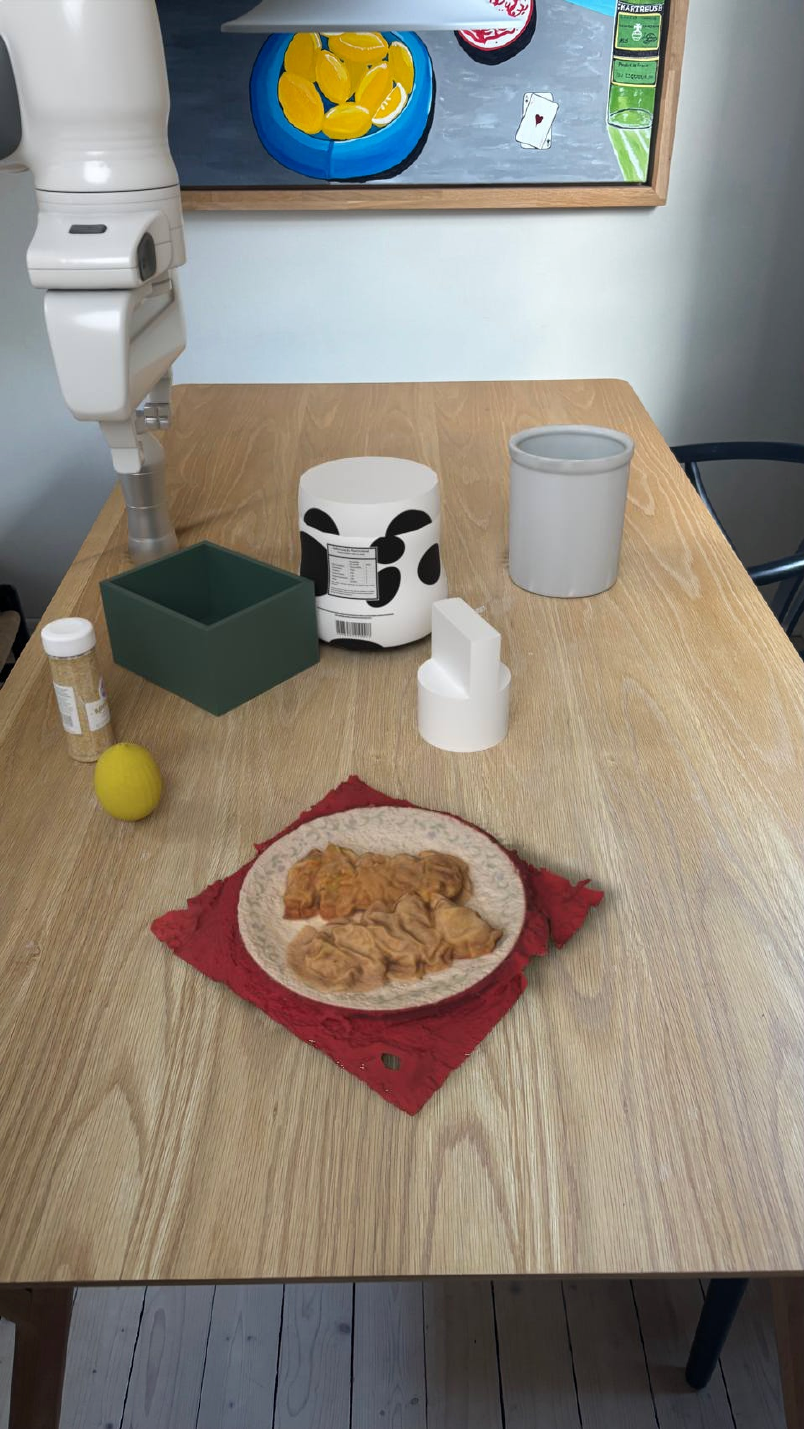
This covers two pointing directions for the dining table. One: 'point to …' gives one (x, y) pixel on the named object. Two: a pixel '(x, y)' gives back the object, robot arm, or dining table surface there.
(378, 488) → the milk container
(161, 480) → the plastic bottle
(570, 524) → the utensil holder
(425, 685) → the cylinder with rectangular tab
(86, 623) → the sprinkles bottle
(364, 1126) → the dining table surface
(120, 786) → the lemon
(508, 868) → the plate with food
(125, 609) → the bin
